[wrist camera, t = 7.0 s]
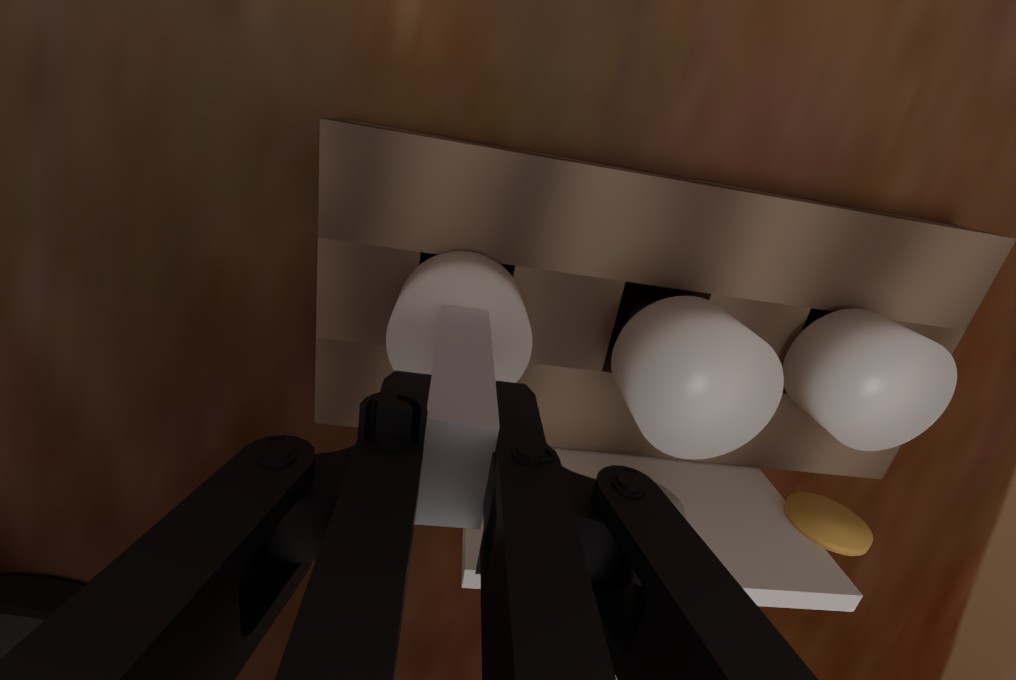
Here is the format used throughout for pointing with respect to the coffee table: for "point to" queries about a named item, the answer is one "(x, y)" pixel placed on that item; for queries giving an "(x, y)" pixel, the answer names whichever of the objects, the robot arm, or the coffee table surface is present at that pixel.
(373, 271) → the board
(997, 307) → the coffee table surface
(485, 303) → the button
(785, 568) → the card
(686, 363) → the button
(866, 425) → the button
